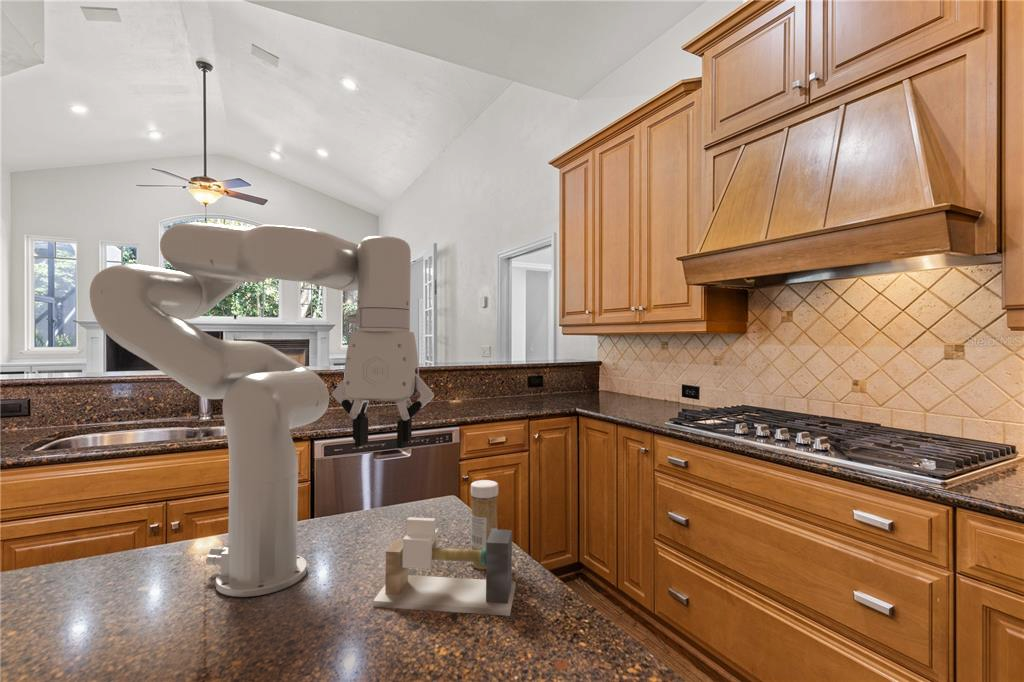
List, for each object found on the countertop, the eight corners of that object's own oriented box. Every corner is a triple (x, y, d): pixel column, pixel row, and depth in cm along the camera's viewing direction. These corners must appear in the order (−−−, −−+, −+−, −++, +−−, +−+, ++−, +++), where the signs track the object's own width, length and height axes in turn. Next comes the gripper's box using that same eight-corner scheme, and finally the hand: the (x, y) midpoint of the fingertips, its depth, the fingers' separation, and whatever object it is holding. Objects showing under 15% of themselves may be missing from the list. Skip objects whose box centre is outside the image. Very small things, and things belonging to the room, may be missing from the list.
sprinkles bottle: (502, 566, 81) (503, 484, 81) (478, 573, 78) (479, 488, 78) (488, 556, 84) (489, 477, 85) (465, 562, 82) (465, 481, 82)
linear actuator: (372, 606, 68) (373, 541, 68) (393, 579, 76) (393, 520, 76) (509, 615, 66) (510, 548, 66) (515, 586, 74) (516, 526, 74)
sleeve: (402, 567, 69) (403, 523, 69) (411, 555, 73) (412, 513, 73) (430, 569, 69) (430, 524, 69) (437, 556, 73) (438, 514, 73)
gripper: (315, 320, 69) (313, 449, 69) (434, 321, 68) (432, 453, 67) (339, 323, 77) (337, 439, 77) (447, 324, 75) (445, 442, 75)
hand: (382, 444), depth 72 cm, fingers open, 5 cm apart
